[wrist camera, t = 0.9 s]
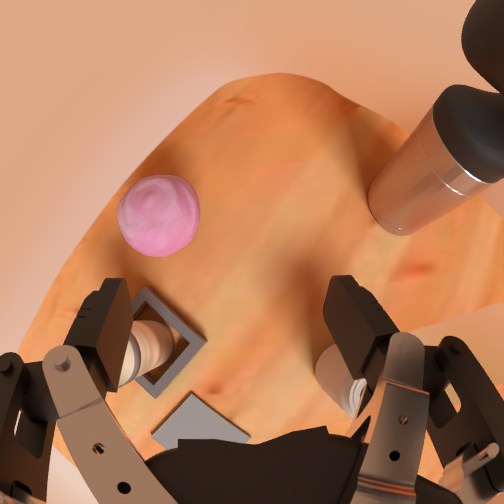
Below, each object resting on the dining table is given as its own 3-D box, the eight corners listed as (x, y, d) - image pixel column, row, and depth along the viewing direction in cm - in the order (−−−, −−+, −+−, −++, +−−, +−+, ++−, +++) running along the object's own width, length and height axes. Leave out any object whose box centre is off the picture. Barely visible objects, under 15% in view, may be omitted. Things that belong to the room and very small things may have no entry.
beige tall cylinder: (150, 309, 32) (99, 305, 20) (185, 342, 31) (148, 356, 19) (123, 342, 31) (67, 352, 19) (156, 375, 30) (111, 402, 18)
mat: (192, 392, 30) (191, 393, 29) (250, 436, 28) (250, 438, 28) (151, 435, 28) (150, 436, 28) (206, 475, 27) (206, 477, 26)
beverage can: (311, 346, 31) (343, 363, 19) (362, 337, 31) (413, 347, 19) (315, 396, 29) (345, 435, 18) (364, 386, 29) (412, 415, 18)
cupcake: (211, 198, 35) (196, 158, 25) (207, 267, 33) (187, 248, 23) (146, 200, 35) (114, 164, 25) (138, 265, 33) (98, 247, 23)
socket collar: (149, 287, 32) (144, 286, 31) (207, 341, 31) (205, 342, 29) (106, 342, 31) (100, 343, 29) (159, 395, 29) (155, 399, 28)
